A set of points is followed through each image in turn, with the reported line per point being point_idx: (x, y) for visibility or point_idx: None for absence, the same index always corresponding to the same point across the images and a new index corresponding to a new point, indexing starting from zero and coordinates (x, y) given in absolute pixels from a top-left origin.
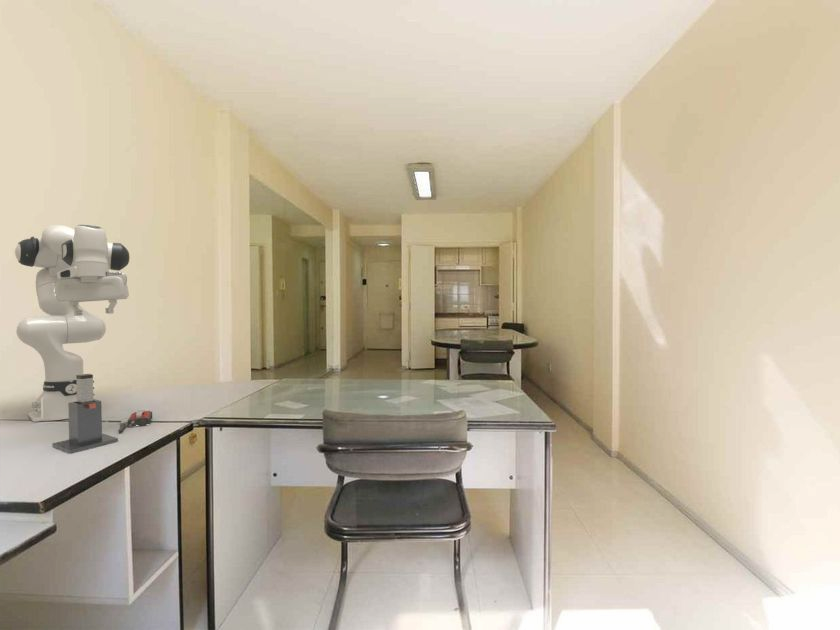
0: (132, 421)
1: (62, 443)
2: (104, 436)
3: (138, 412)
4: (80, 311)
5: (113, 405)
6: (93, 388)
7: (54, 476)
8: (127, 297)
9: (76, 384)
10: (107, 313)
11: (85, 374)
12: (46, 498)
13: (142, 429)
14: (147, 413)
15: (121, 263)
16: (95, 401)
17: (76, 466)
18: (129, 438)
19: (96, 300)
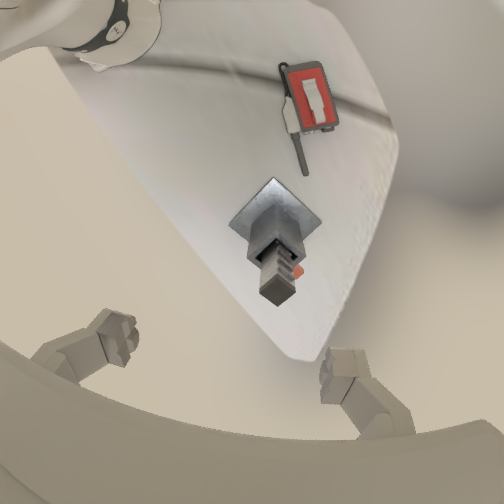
0: (311, 133)
1: (245, 230)
2: (294, 206)
3: (314, 106)
4: (122, 344)
5: None
6: (292, 269)
7: (299, 325)
8: (490, 428)
9: (260, 279)
10: (326, 360)
11: (276, 287)
12: (316, 359)
13: (335, 155)
14: (323, 87)
15: None
16: (296, 258)
17: (308, 305)
18: (332, 208)
19: (201, 433)
